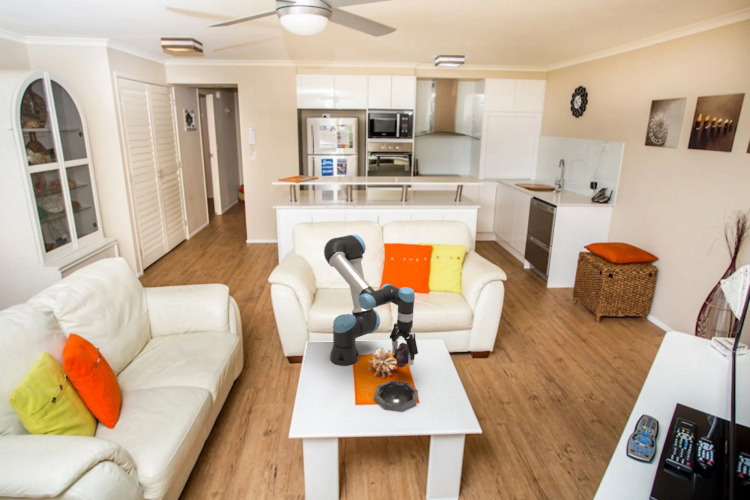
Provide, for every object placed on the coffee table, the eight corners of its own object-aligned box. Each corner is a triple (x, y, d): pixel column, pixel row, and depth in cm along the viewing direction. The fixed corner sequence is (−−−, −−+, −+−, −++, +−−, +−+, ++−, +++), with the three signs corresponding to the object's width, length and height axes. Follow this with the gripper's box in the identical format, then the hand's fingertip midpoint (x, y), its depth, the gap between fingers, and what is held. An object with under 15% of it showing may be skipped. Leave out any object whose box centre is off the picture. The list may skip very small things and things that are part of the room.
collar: (367, 394, 205) (367, 389, 204) (399, 381, 216) (400, 376, 215) (391, 416, 190) (391, 411, 189) (425, 401, 201) (425, 396, 200)
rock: (393, 369, 214) (414, 370, 214) (393, 355, 210) (415, 356, 210) (392, 353, 225) (412, 354, 225) (393, 340, 221) (413, 340, 221)
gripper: (383, 311, 220) (382, 349, 226) (415, 331, 201) (412, 372, 207) (396, 308, 224) (393, 345, 230) (427, 327, 205) (424, 368, 211)
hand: (402, 358), depth 219 cm, fingers closed on rock, 12 cm apart
